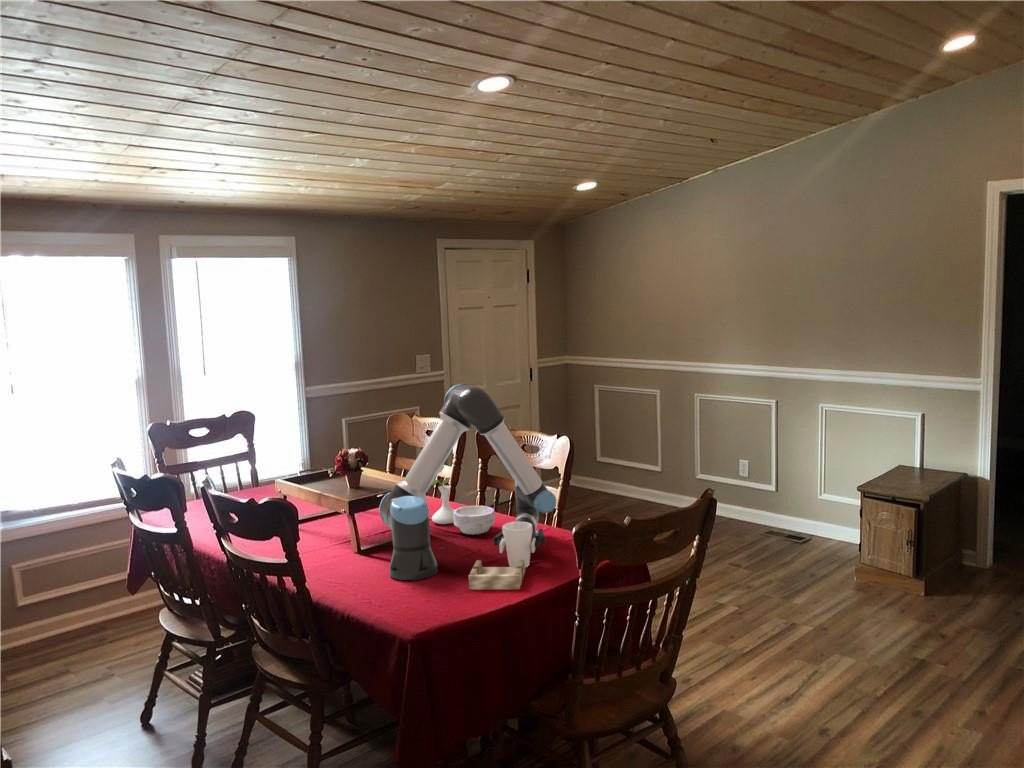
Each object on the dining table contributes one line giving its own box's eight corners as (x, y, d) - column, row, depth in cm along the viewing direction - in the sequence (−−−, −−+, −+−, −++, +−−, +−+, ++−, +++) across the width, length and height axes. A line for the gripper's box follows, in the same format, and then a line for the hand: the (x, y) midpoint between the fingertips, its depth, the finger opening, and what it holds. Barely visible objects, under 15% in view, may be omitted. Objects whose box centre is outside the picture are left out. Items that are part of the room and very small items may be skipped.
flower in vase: (461, 517, 314) (457, 454, 311) (461, 525, 303) (457, 460, 300) (428, 519, 313) (424, 456, 311) (427, 527, 302) (422, 462, 299)
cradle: (468, 589, 236) (467, 576, 235) (477, 571, 250) (476, 559, 250) (520, 589, 234) (519, 576, 233) (526, 571, 248) (525, 559, 248)
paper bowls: (504, 530, 294) (502, 509, 293) (472, 540, 284) (470, 518, 283) (477, 522, 305) (476, 502, 304) (446, 532, 295) (444, 511, 294)
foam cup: (531, 571, 249) (528, 530, 247) (501, 570, 250) (499, 530, 249) (536, 560, 258) (534, 521, 256) (508, 560, 260) (506, 521, 258)
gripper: (557, 537, 270) (552, 560, 248) (493, 538, 273) (482, 560, 251) (556, 516, 269) (551, 536, 247) (491, 517, 272) (481, 537, 250)
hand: (516, 548), depth 249 cm, fingers closed on foam cup, 9 cm apart
